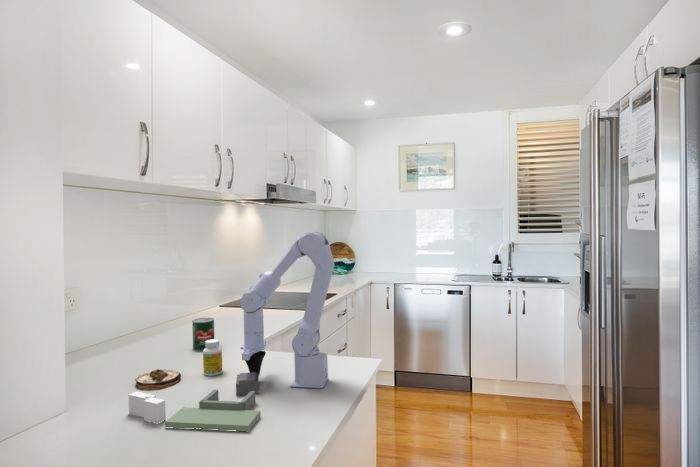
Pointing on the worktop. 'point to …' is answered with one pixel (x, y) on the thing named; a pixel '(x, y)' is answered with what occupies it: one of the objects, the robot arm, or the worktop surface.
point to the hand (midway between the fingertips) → (255, 377)
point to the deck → (217, 414)
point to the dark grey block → (247, 383)
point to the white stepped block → (147, 406)
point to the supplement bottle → (212, 358)
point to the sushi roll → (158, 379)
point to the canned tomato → (202, 332)
